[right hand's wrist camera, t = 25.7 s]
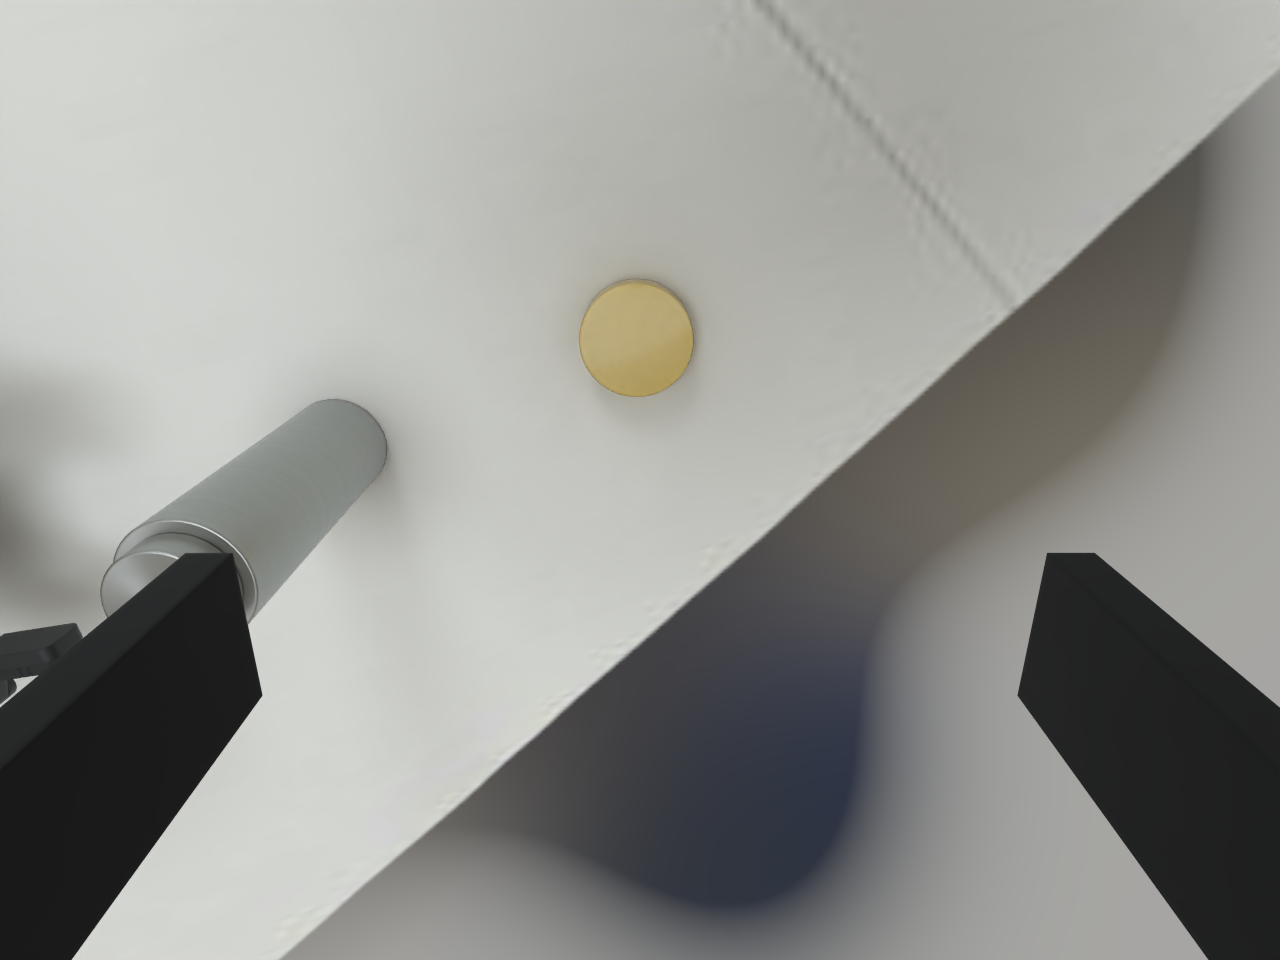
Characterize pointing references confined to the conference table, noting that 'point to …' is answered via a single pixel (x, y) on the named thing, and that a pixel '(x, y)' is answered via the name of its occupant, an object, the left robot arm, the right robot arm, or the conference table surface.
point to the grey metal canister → (260, 505)
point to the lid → (636, 338)
